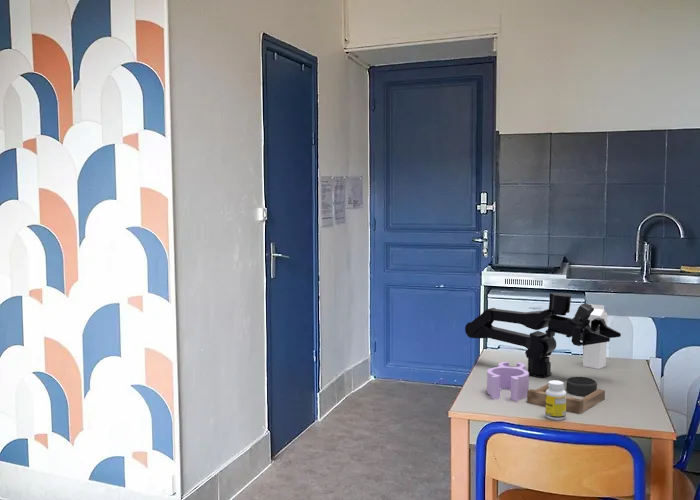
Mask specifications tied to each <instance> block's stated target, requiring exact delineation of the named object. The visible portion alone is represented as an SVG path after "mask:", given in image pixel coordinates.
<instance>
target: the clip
mask: <svg viewBox="0 0 700 500" xmlns="http://www.w3.org/2000/svg"><path fill="white" fill-rule="evenodd" d="M529 379H530V375H529V372H528V370H527V369H526V364H524V363H522V362H516V366H510V362H509V361H502V362H499V363H498V366H495V367H490V368H488V369H487V370H486V393H488V394H489V395H488V394H487V395H488V396H490V395H491V396H490V399H491V398H492V399H491V400H497V399H501V390H510V400H511V401H513V402H519V400H522V399H527V391H528V390H530V389H529V388H530V387H529V385H530V383H529V381H530V380H529ZM500 388H501V389H500ZM504 388H505V389H504Z"/></svg>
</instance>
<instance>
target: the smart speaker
mask: <svg viewBox="0 0 700 500" xmlns="http://www.w3.org/2000/svg"><path fill="white" fill-rule="evenodd" d="M565 385H566V387H565V389H566V390H565V391H567V393H569V394H572V395H575V396H581V397H582V396H583V397H586V396H587V395H589V394H591V393H593V392H594V391H596V390H598V389H597V388H598V387H597V386H598V383H597V381H596V380H595V379H594V378H589V377H586V376H585V377H584V376H572V377H569V378H567V379H566V383H565Z"/></svg>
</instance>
